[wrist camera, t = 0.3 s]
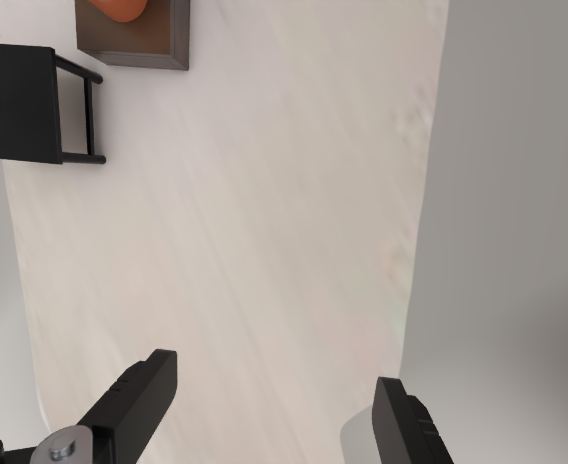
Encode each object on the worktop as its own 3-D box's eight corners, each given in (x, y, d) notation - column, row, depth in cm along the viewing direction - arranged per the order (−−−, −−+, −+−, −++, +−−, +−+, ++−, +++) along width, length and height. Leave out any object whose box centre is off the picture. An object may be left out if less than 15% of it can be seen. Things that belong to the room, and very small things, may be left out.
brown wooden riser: (103, -43, 35) (70, -78, 30) (190, -39, 34) (170, -75, 29) (107, 65, 37) (76, 48, 32) (188, 70, 37) (170, 54, 32)
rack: (19, 67, 38) (-54, 40, 31) (104, 73, 38) (50, 46, 30) (28, 158, 41) (-39, 155, 33) (107, 166, 40) (58, 164, 32)
